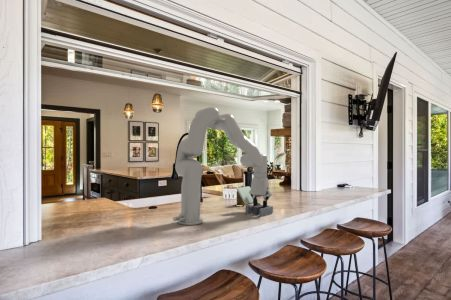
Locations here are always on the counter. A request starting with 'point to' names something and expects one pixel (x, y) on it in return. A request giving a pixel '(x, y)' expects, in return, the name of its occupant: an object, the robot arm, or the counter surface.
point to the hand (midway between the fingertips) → (260, 206)
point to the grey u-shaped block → (262, 211)
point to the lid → (245, 195)
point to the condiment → (239, 199)
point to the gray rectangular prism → (257, 209)
